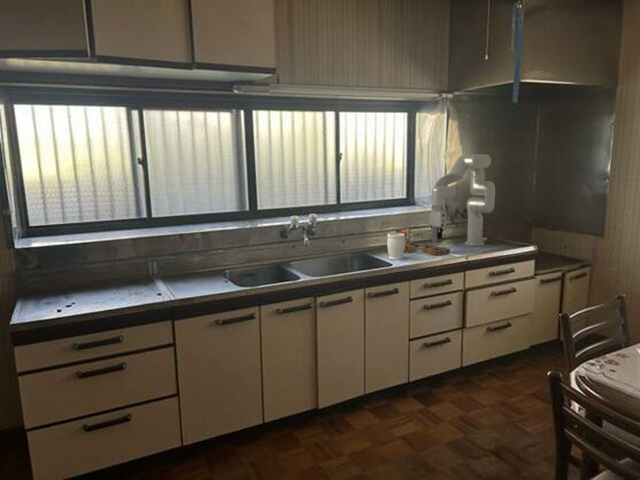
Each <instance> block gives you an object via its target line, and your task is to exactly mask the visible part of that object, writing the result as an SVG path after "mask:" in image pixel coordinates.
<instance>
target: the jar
mask: <svg viewBox="0 0 640 480" xmlns="http://www.w3.org/2000/svg"><path fill="white" fill-rule="evenodd" d="M386 236H387V243H386V244H387V252H388V255H389V256H388V259H389V260H393V261H400V260H403V259H404V257H403V255H404V254H405V253H404V247H405V240H404V236H405V234H403V233H395V232H390V233H389V232H388V233H387V234H386Z"/></svg>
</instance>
